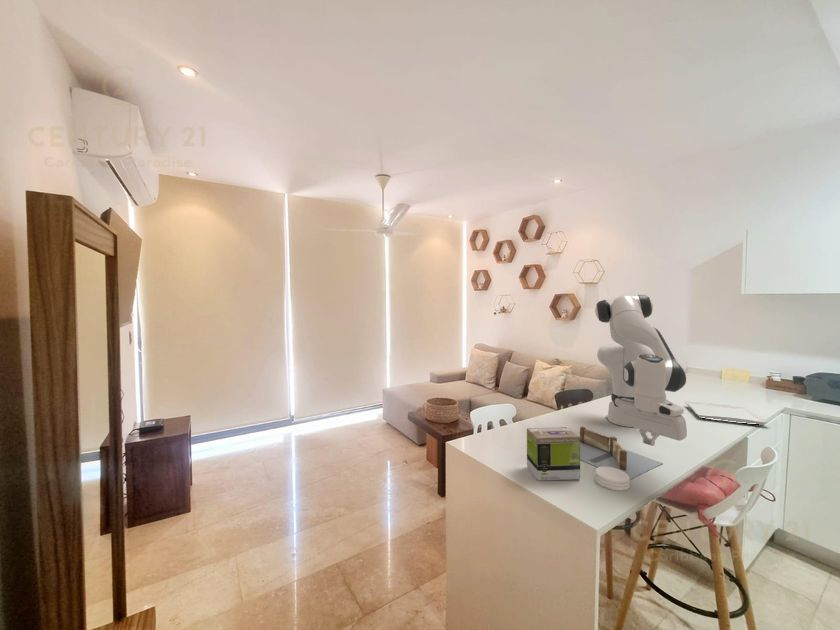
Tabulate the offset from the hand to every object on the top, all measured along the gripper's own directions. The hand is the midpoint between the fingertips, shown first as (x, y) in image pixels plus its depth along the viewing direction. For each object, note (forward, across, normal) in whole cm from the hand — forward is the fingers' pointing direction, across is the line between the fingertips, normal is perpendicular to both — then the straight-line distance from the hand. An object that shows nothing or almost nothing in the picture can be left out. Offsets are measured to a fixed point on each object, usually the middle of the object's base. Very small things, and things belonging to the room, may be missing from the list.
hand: (648, 444), depth 113 cm
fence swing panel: (+12, -12, +4) cm, 17 cm away
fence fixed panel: (+12, -24, +9) cm, 28 cm away
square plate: (+11, -14, +107) cm, 109 cm away
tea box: (+13, -19, -25) cm, 34 cm away
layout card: (+12, -17, +5) cm, 22 cm away
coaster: (+13, -5, -12) cm, 18 cm away
